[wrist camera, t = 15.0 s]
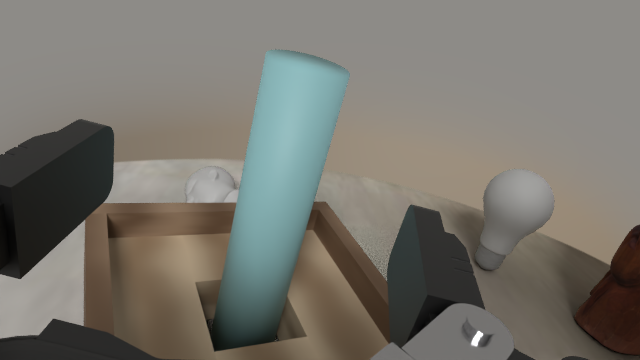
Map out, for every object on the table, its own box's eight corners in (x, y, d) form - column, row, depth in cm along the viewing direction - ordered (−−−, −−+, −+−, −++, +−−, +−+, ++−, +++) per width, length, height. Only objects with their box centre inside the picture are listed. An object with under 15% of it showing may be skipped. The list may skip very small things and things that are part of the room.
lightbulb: (463, 280, 43) (513, 180, 38) (448, 243, 48) (490, 152, 44) (523, 293, 43) (579, 196, 39) (501, 255, 49) (548, 166, 44)
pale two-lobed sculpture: (179, 203, 45) (228, 186, 47) (207, 251, 39) (261, 229, 41) (170, 167, 42) (221, 151, 44) (198, 212, 37) (256, 191, 39)
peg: (259, 322, 32) (328, 56, 23) (278, 369, 29) (364, 82, 20) (202, 330, 30) (255, 45, 22) (215, 382, 27) (283, 71, 19)
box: (310, 253, 41) (325, 201, 38) (427, 443, 27) (462, 381, 24) (84, 268, 32) (85, 203, 30) (83, 558, 18) (86, 480, 16)
